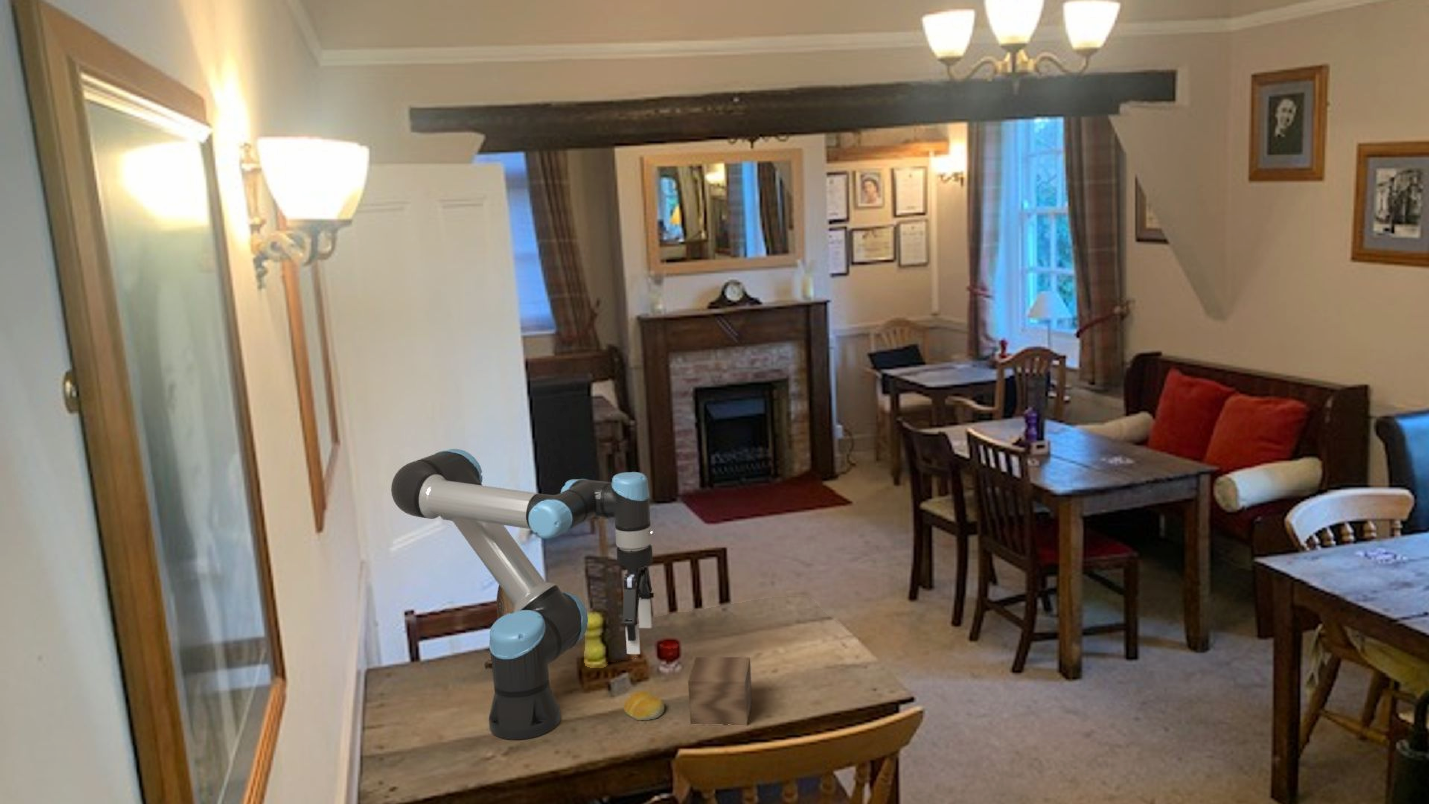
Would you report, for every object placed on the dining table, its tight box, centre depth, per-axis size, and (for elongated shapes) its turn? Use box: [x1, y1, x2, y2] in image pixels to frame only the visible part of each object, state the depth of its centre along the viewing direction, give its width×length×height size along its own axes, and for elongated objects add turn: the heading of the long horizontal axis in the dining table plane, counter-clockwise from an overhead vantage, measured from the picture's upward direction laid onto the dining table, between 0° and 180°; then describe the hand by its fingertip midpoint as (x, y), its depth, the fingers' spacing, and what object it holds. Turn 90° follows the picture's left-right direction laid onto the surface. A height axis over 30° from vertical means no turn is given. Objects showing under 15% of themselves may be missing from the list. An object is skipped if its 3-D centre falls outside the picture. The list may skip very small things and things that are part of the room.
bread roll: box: [623, 690, 665, 722], centre depth 231 cm, size 8×9×4 cm
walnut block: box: [687, 656, 753, 726], centre depth 229 cm, size 12×12×10 cm
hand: (639, 640), depth 229 cm, fingers open, 13 cm apart
